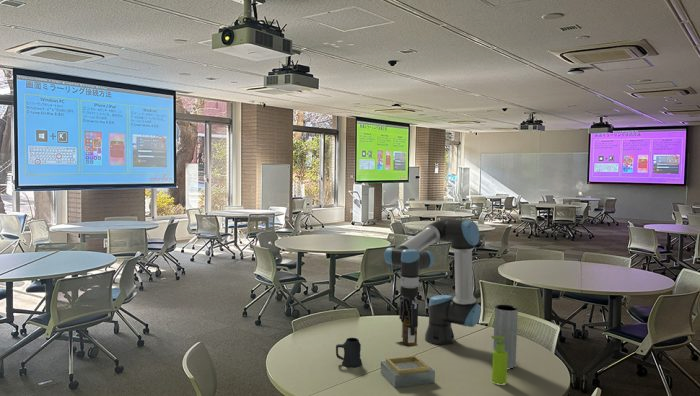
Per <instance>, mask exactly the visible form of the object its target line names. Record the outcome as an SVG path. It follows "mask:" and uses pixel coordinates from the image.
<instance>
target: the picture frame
mask: <svg viewBox="0 0 700 396" xmlns="http://www.w3.org/2000/svg"><path fill="white" fill-rule="evenodd" d="M380 374H381V375H382V376H383V377H384V378H385V380H387V381H388V382H389V383H390V385H392V387H394V388H395V389H396V388H397V389H398V388H406V387H412V386H420V385H428V384H429V385H430V384H435V382H436V381H435V379H436V378H435V377H436V371H435V370H434V369H433V368H431V367H430V366H429V365H428V364H427V363H425V362H424V361H423V360H422V359H421V358H420V357H418V356H416V355H410V356H409V355H408V356H400V357H390V358H385V361H383V360H382V361H380Z"/></svg>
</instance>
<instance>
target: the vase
mask: <svg viewBox="0 0 700 396" xmlns="http://www.w3.org/2000/svg"><path fill="white" fill-rule="evenodd" d="M518 314H519V312H518V308H517V306H514V305H509V304H497V305H495V306H494V317H493V318H494V322H493V324H494V325H493V326H494V327H493V336H496V335H499V336H504V337H505V339H503V344H505V350H504V351H506V352H507V368H512V367H515V368H516V366H515V365H516V363H517V361H516V360H517V340H518V339H517V337H518ZM498 342H499V338H495V339H493V350H492V352H493V351H494V350H496V344H497V343H498Z"/></svg>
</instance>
